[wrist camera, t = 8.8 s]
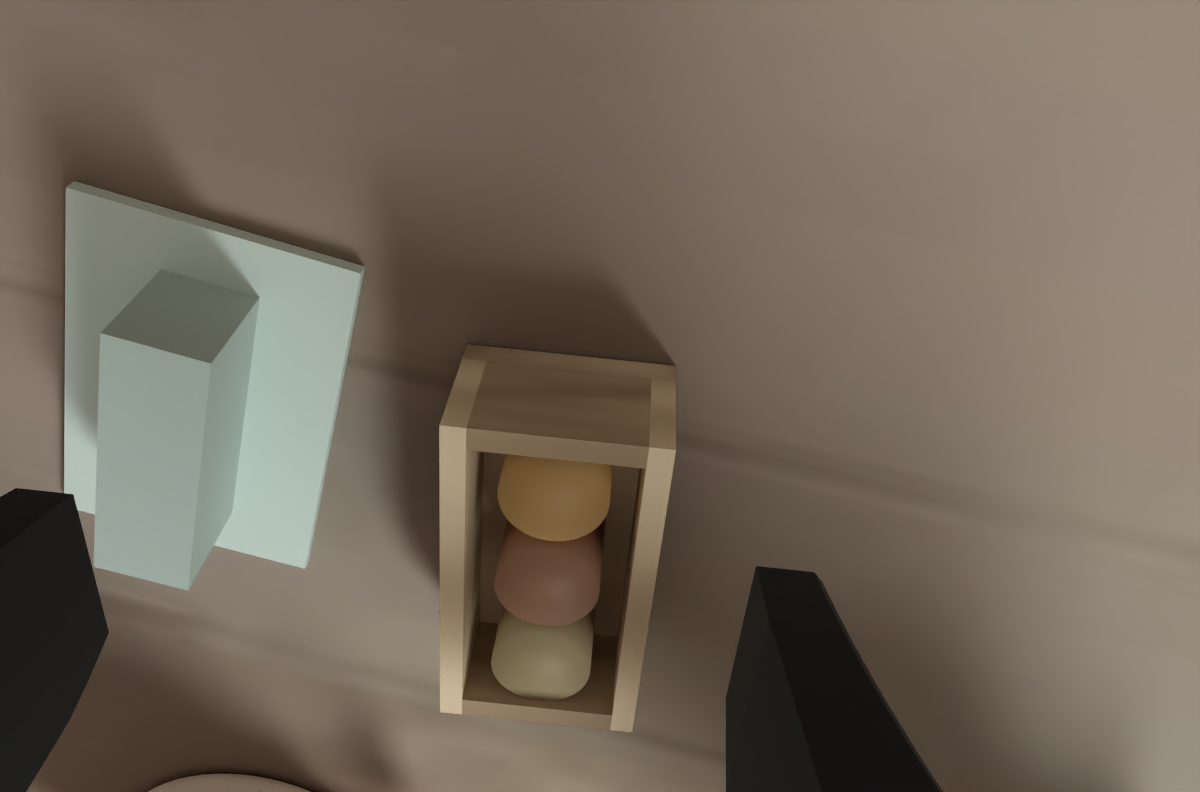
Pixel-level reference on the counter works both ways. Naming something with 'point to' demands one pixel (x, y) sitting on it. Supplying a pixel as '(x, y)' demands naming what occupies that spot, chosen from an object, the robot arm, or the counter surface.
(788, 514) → the counter surface
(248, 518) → the lid
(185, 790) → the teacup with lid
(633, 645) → the box
